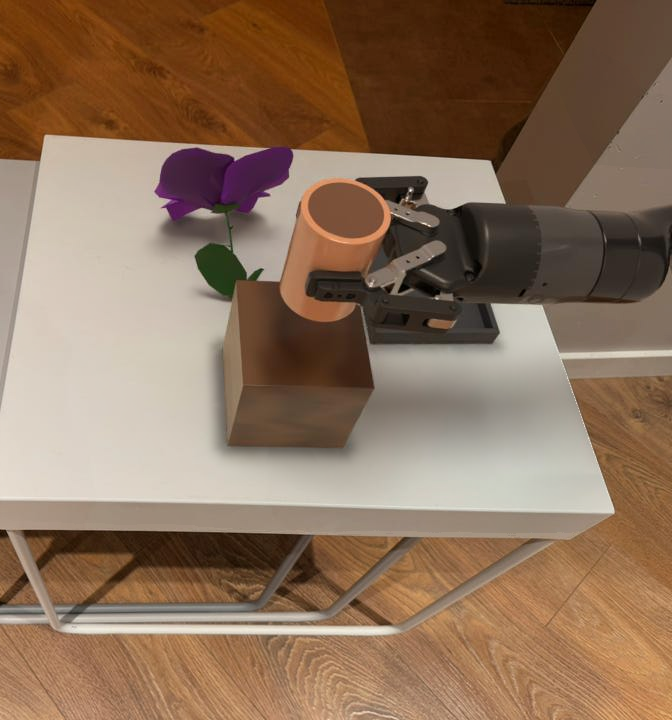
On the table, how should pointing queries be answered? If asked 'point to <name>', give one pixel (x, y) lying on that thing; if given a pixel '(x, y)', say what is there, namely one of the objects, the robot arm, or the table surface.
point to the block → (291, 372)
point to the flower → (220, 199)
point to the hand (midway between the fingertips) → (303, 247)
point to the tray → (468, 329)
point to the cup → (333, 242)
